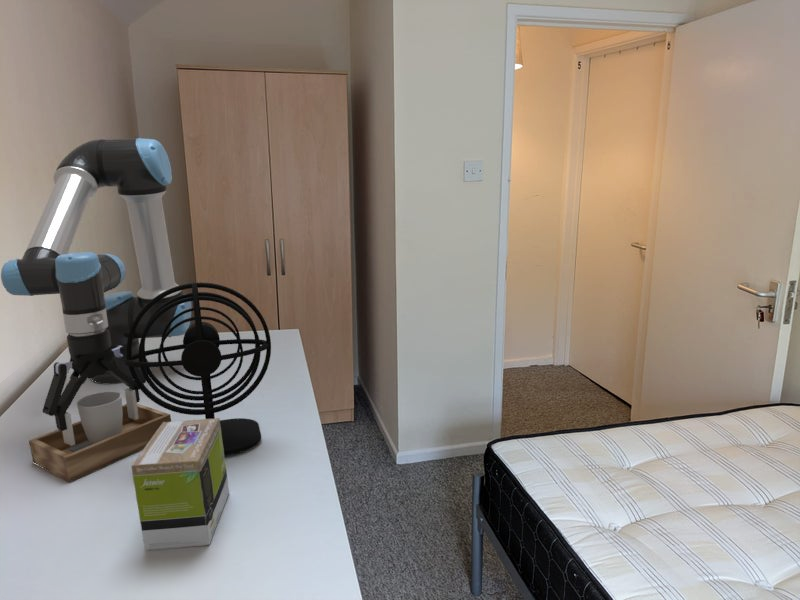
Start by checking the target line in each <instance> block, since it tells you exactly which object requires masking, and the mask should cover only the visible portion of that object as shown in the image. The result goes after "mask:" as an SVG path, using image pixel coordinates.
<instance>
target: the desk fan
mask: <svg viewBox="0 0 800 600" xmlns="http://www.w3.org/2000/svg"><path fill="white" fill-rule="evenodd" d="M199 288H200V289H202V288H204V289H205V288H206V289H214V290H219V291H222V292H225V293H228V294H230V295H232V296H234V297H236V298H238V299H239V300H241V301H242V302H244V303H245V304H246V305H247V306H248V307H249V308H250V309H251V310H252V311H253V312H254V313H255V315H256V316H257V318H258V319H259V321H260V323H261V325H262V328H263V330H264V335H265V339H260V337H259V333H258V330H257V328H256V326H255V323H254V321H253V320H252V318H251V316H250V315H249V313H248V312H247V311H246V310H245V309H244V308H243V306H241V305H240V304H239V303H237V302H236V301H234V300H233V299H231V298H229V297H227V296H225V295H221V294H219V293H213V292H207V291H205V292H204V291H202V292H201V291H199ZM188 289H191V290H192V291H191V292H189V293H183V295H181V296H178V297H176V298H173V299H171V300H170V301H168V302H166V303H165V304H163V305H162V306H161V307H160V308H159V309H158V310H157V311H156V312H155V313H154V314H153V315H152V316H151V318H150V319H149V321H148V323H147V324H146V327H145V329H144V332H143V334H142V337H141V338H140V339H139V353H136V354H133V355H132V341H133V336H134V332H135V329H136V327H137V325H138V323H139V321H140V320H141V318H142V317H143V315H144V314H145V313H146V312H147V311H148V310H149V308H151V307H152V306H153V305H154V304H155V303H156V302H158V301H159V300H161V299H162V298H164V297H166V296H168V295H170V294H172V293H174V292H177V291H180V290H182V291H183V290H188ZM189 301H191V302H192V304H193V307H192V308H191V309H187V310H185V311H183V312H181V313H179V314H177V315H176V316H175V317H174V318H173V319H172V320H171V321H170V322H169V323H168V324H167V326H166V328H165V329H164V332H163V335H162V337H161V340H160V341H161V342H160V344H159V347H157V348H154V349H153V348H152V349H149V350H148V349H147V350H146V347H145V346H146V339H147V338H146V335H147V333H148V331H149V329H150V327H151V326H152V324H153V323H154V322H155V321H156V319H157V318H158V317H159V316H161V315H162V314H163V313H164V312H166V311H167V310H169V309H170V308H172V307H174V306H176V305H179V304H182V303H185V302H189ZM200 301H208V302H215V303H218V304H222V305H224V306H227V307H228V308H231V309H232V310H234V311H236V312H237V314H239V315H241V317H242V318H243V319H244V320H245V321H246V322H247V324H248V325H249V326H250V328H251V330H252V333H253V336H254V338H241V335H240V331H239V329H238V327H237V324H235V322H234V320H232V318H230V316H228V315H227V314H226V313H225V312H224V311H223V312H222V311H221V310H219V309H215V308H213V307H207V306H201V305H200ZM190 311H191V312H193V314H194V316H191V318H188V319H185V320H183V321H181V322H179V323H177V324H176V325H174V326H173V327H172V328H171V329H170V330H169V331H168V332H167V333H166V331H167V329H168V328H169V326H170V325H171V324H172V322H173V321H174V320H175V319H177V318H178V317H179V316H181V315H183V314H185V313H187V312H190ZM201 311H210V312H214V313H216V314H218V315H221V316H222V317H224V318H226V320H227V321H228V322H229V323H230V324H231V325H232V326H233V327H231V326H230V324H228V323H226V322H224V321H223V320H221V319H218V318H215V317H211V316H206V315H205V316H202V314H201V313H202V312H201ZM202 320H206V321H207V320H208V321H212V322H215V323H219V324H221V325H223V326H224V327H225V328H227V329H228V330H229V331H230V332H231V333H232V334H233V336H235V338H236V339H233V338H232V339H220V334H219V332H218V329H217V328H216V327H215V326H214V325H213V324H211V323H209V322H206V321H202ZM189 321H190V322H191V321H194V322H193V323H192V324H190V325H189V328H188V329H187V330H186V332H185V334H184V335H183V340H182V344H177V345H170V346H165V347H164V343H165V342H166V339H167V338H168V337H167V336H168V335H169V334H170V333H171V332H172V331H173V330H174V329H175V328H177V327H178V326H180V325H181V324H183V323H186V322H189ZM233 328H234V329H233ZM244 344H245V345H248V344H249V345H254V348H251V349H247V350H244V349H243V345H244ZM222 345H223V346H224V345H237V348H236V349H237V350H236V352H233V353H232V352H231V353H226V354H222V352H221V350H220V348H219V347H220V346H222ZM180 350H183V351H182V353H181V356H180V360H168V357H167V356H166V352H172V351H180ZM263 351H266V352H265V358H264V362H263V365H262V368H261V370H260V371H259V373H258V375H257V377H256V378H255V380H254V382H253V383H252V384H251V382H252V380H253V378H254V377H255V375H256V373H257V372H258V371H257V370H258V368H259V365H260V361H261V352H263ZM156 354H157V361H148V359H147V356H152V355H156ZM249 355H253V358H252V359H251V363H250V365H249V366H248V369H246V370H247V371H246V372H245V373H244V374H243V375H242V377H241V378H240V379H239V380H238V381H236V382H235V383H234V384H232V385H231V386H229V387H228V388H226V386H228V385H229V384H230V383H232V382H233V381H234V380H235V378H236V377H237V375H239V372H240V370H241V368H242V364H243V361H244V357H245V356H246V357H247V356H249ZM271 356H272V342H271V336H270V330H269V328H268V326H267V322H266V320H265V318H264V316H263V314H262V313H261V312H260V311H259V309H258V307H257V306H256V305H255V304H254V303H253V302H252V301H251V300H249V299H248V298H247V297H246V296H245V295H243V294H241V293H240V292H238V291H237V290H234V289H232V288H231V287H227V286H225V285H222V284H221V285H220V284H217V283H211V282H192V283H191V282H190V283H185V284H179V286H176V287H173V288H171V289H169V290H166V291H164V292H163V293H161V294H159V295H158V296H156V297H155V298H153V299H152V300H151V301H150V302H149V303H148V304H147V305H146V306H145V307H144V308H143V309H142V310H141V311H140V313H139V314H138V316H137V317H136V319H135V321H134V323H133V325H132V327H131V330H130V333H129V336H128V340H127V357H126V358H125V365H127V366H129V370H130V373H131V375H132V377H133V380H134V381H135V383H136V384H137V386H138V387H139V388H140V389H139V391H141V392H142V393H143V394H144V395H145V397H147V398H148V399H149V400H150V401H152V402H153V403H155V404H156V405H158V406H159V407H161V408H164V409H165V410H169V411H171V412H174V413H178V414H180V415H181V414H182V415H188V416H189V415H191V416H204V415H205V416H204V417H205V418H204V419H214V418H216V416H215V413H220V412H224V411H225V410H228V409H230V408H232V407H234V406H236V405H238V404H239V403H241V402H243V401H244V400H245V399H247V398H248V397H249V395H251V394H252V393H253V392H254V391H255V390H256V388H258V386H259V385H260V383H261V382H262V380H263V379H264V377H265V375H266V373H267V370H268V367H269V364H270V360H271ZM162 357H163V360H164V361H162ZM138 358H139V362H137V361H133V360H135V359H138ZM238 358H240V359H239V363H238V365H237V368H236V370H235V371H234V373H233V375H231V377H230V378H229V379H228V380H226V381H225V382H224V383H223V384H221V385H219V386H217V387H215V388H212V381H211V380H212V379H215V378H218V377H219V376H222V375H223V374H225V373H226V372H228V371H229V370H230V369H231V367H233V365H234V364H235V362H236V361H237V359H238ZM146 359H147V360H146ZM231 359H232V360H231ZM225 360H231V362H230V363H229V364H228V365H227V366H226V367H225V368H224V369H222V370H221V371H220V372H217V373H215V372H216V371H217V370H218V369H219V368H220V366H221V363H222V361H225ZM147 361H148V362H147ZM178 366H182V367H183V369H184V370H185V371H186V372H187V373H188V375H187V374H185V373H183V372H181V371H179V370H178V369H177V368H175V367H178ZM135 367H140V368H141V371H142V373H143V376H144V378H145V379H146V383H147V384H148V385H149V387H150V388H151V389H152V390H153V391H154V392H155V393H156V394H158V396H160V397H161V398H159V397H158V396H157V395H155V394H154V393H153V392H151V391H150V390H149V389H148V387H147V386H146V385H145V383H144V384H143V383H142V381H141V380H140V378H139V376H138V374H137V372H136V370H135ZM164 367H165V368H167V367H169V369H171V371H173V372H174V373H175V374H177V375H178V376H180V377H183V378H184V379H187V380H192V381H201V389H202V390H192V389H188V388H184V387H183V386H180V385H178V384H177V383H175V382H174V381H173V380H172V379H171V378H170V377H169V375H167V373H166V371H165V370H164V369H165V368H164ZM152 368H159V370H160V372H161V374H162V376H163V377H164V379H165V380H166V381H167V382H168V383H169V384H170V385H171V386H172V387H174V388H175V389H177V390H179V391H181V392H184V393H180V392H179V391H175V390H173V389H171V388H169V387H168V386H167V385H165V384H163V382H161V381H160V380H159V379H158V378H157V376H155V374H154V373H153V371H152ZM213 373H215V374H213ZM189 374H190V375H189ZM212 374H213V375H212ZM191 375H192V376H191ZM249 384H251V385H250V386H249ZM248 386H249V388H247V387H248ZM223 388H225V389H224V390H222V389H223ZM246 388H247V389H246ZM245 389H246V390H245ZM220 390H222V391H220ZM243 390H245V391H244V392H243ZM218 391H219V392H218ZM165 392H166V393H165ZM241 392H243V393H242V394H241ZM185 393H187V394H185ZM229 393H230V394H229ZM189 394H190V395H189ZM239 394H240V395H239ZM170 395H171V396H170ZM225 395H226V396H225ZM238 395H239V396H238ZM173 396H174V397H173ZM223 396H224V397H223ZM236 396H238V397H236ZM221 397H222V398H221ZM235 397H236V398H235ZM162 398H163V399H164V400H166V401H164V400H163V399H162ZM177 398H179V399H177ZM218 398H219V399H218ZM233 398H235V399H233ZM180 399H183V400H180ZM215 399H216V400H215ZM184 400H186V401H184ZM188 400H189V401H196V402H189V401H188ZM167 401H168V402H167ZM197 401H198V402H197ZM200 401H203V402H200ZM228 401H229V402H228ZM172 403H173V404H172ZM224 403H225V404H224ZM174 404H175V405H174ZM220 404H221V405H220ZM176 405H177V406H176ZM185 407H187V408H185ZM220 426H221V434H222V441H223V448H224V456H230V455H234V454H235V455H236V454H239V453H242V452H246V451H248V450H250V449H252V448H254V447H256V446H257V445H259V444H260V442H261V441H262V433H261V429H260V428H261V427H260V424H259V422H257V421H256V420H254V419H250V418H228V419H221V420H220Z"/></svg>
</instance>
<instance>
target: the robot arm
mask: <svg viewBox="0 0 800 600" xmlns="http://www.w3.org/2000/svg"><path fill="white" fill-rule="evenodd" d="M172 172H173V171H172V167H171V163H170V159H169V156H168V153H167V151H166V149H165V148H164V146H163V144H162V143H161V142H160V141H158V140H156V139H152V138H141V137H138V138H136V137H135V138H117V139H116V138H115V139H113V138H112V139H99V138H98V139H93V140H89V141H86V142H84V143H82V144H80V145H78V146H77V147H75V148H74V149H73V150H71V151H70V152H69V153H68V154H67V155H66V156H65V157H64V158H63V159H62V160H61V161H60V163H59V164H58V166H57V167H56V170H55V172H54V174H53V182H54V186H53V189H52V191H51V193H50V195H49V197H48V200H47V202H46V204H45V206H44V208H43V211H42V214H41V216H40V218H39V220H38V223H37V224H36V227H35V230H34V231H33V234H32V236H31V239H30V241H29V243H28V246H27V247H26V249H25V252H24V254H23V256H22V258H21V259H19V258H16V259H10V260H7V261H6V262H4V264H3V265H2V267H1V271H0V279H1V284H2V285H3V287H4V289H5V291H6V292H7V293H9V294H10V295H12V296H29V297H33V296H41V295H42V296H43V295H46V296H47V295H58V294H59V296H60V302H61V308H62V310H61V311H62V316H63V322H64V329H65V330H64V331H65V333H67V336H66V341H67V347H68V353H69V356H70V359H69V361H67V362H62V363H61V362H55V363H54V364H53V375H52V376H53V377H52V380H51V382H50V386H49V389H48V391H47V395H46V397H45V400H44V404H43V406H42V413H43V414H45V415H48V416H50V417H53V416H54V419H55V425H56V429H57V430H61V431H62V432H63V438H64V443H66V444H68V445H71V446H73V445H75V439H74V433H73V427H72V424H73V422H72V417H71V413H70V412H68V410H69V407H70V405H71V404H72V403H73V400H74V399H75V398H76V397H75V396H76V395H77V394H78V392H79V390H80V388H81V386H82V385H83V384H85V383H86V381H87V379H90V380H91V379H92V380H93V381H96V382H100V383H99V384H102V383H109V384H118V382H119V383H122V384H124V385H125V386H127V388H124V396H125V402H126V403H125V404H127V411H128V417H129V418H132V419H134V420H137V419H139V415H138V408H137V404H139V403H140V401H141V400H140V393H139V391H140V388H139V387H138V386H137V384H136V383H135V381H134V379H133V377H132V375H131V373H130V370H129V366H127V365H125V358H126V357H127V340H128V336H129V333H130V330H131V327H132V325H133V323H134V321H135V319H136V317H137V316H138V314H139V313H140V311H141V310H142V309H143V308H144V307H145V306H146V305H147V304H148V303H149V302H150V301H151V300H152V299H153V298H155V297H156V296H158V295H159V294H161V293H163V292H164V291H166V290H169V289H171V288H173V287H176V286H180V284H177V282H176V281H175V274H174V268H173V260H172V255H171V250H170V249H171V248H170V243H169V236H168V230H167V224H166V217H165V211H164V205H163V199H162V198H163V196H165V193H167V186H168V185H171V183H172V180H173V175H172ZM105 187H109V188H110V187H116V188H117V194H118V196H119V197H121V198H122V199H123V200H125V203H126V207H127V213H128V218H129V223H130V229H131V234H132V240H133V245H134V251H135V257H136V262H137V267H138V268H137V269H138V273H139V279H140V283H141V288H140V289H139V290H138V291H137V293H136V296H134V293H133V292H132V291H120V292H119V291H118V292H113V293H109V294H105V293H106V292H108V291H111V290H114V289H116V288H117V287H118V286H120V284H121V283H122V282H123V281H124V280H125V278H126V265H125V264H124V262H123V261H122V260H121V258H119V257H117V255H114V254H110V253H102V254H99V253H98V254H97V253H95V252H92V251H81V252H79V251H78V252H70V249H71V246H72V244H73V242H74V239H75V236H76V234H77V231H78V228H79V226H80V223H81V220H82V218H83V215H84V213H85V210H86V207H87V204H88V201H89V199H90V198H91V197H93V196H95V195H96V193H97V191H98V189H100V188H105ZM69 252H70V253H69ZM181 295H184V293H183V290H180V291H177V292H174V293H172V294H170V295H168V296H166V297H164V298H162V299H161V300H159V301H158V302H156V303H155V304H154V305H153V306H152V307H151V308H149V310H148V311H147V312H146V313H145V314H144V315H143V317H142V318H141V320H140V321H139V323H138V325H137V327H136V329H135V332H134V336H133V341H132V355H133V354H136V353H139V345H140V339H141V337H142V334H143V332H144V329H145V327H146V324H147V323H148V321H149V319H150V318H151V316H152V315H153V314H154V313H155V312H156V311H157V310H158V309H159V308H160V307H161V306H162V305H163V304H165V303H166V302H168V301H170V300H171V299H173V298H176V297H178V296H181ZM191 308H193V307H192V301H189V302H185V303H182V304H179V305H176V306H174V307H172V308H170V309H169V310H167V311H166V312H164V313H163V314H162V315H161V316H159V317H158V318H157V319H156V321H155V322H154V323H153V324H152V326H151V327H150V329H149V331H148V333H147V335H146V339H151V338H162V335H163V332H164V329H165V328H166V326H167V324H168V323H169V322H170V321H171V320H172V319H173V318H174V317H175V316H176V315H177V314H179V313H181V312H183V311H185V310H187V309H191ZM188 318H192V311H190V312H187V313H185V314H183V315H181V316H179V317H178V318H177V319H175V320H174V321H173V322H172V324H171V325H170V326H169V328H168V329H167V331H166V333H167V332H168V331H169V330H170V329H171V328H172V327H173V326H174V325H176V324H177V323H179V322H181V321H183V320H185V319H188ZM190 326H191V321H189V322H186V323H183V324H181V325H180V326H178V327H177V328H175V329H174V330H173V331H172V332H171V333H170V334H169V335H168V336H167V338H172V337H180V336H184V335H185V332H186V330H187V329H188V328H189V327H190ZM146 360H147V362H149V360H148V359H147V358H146ZM133 361H137V362H139V358H138V359H135V360H133ZM71 369H72V370H73V371H72V373H71V375H70V376H69V381H68V382H67V385H66V386H65V384H66V381H67V376H68V374H69V373H70V370H71ZM135 370H136V372H137V374H138V376H139V378H140V380H141V381H142V383H143V384H144V385H145V384H146V383H147V381H146V379H145V378H144V376H143V373H142V371H141V368H140V367H135ZM92 380H91V381H92ZM93 381H92V382H93ZM96 382H95V383H96ZM64 386H65V388H64Z"/></svg>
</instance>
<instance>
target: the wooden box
mask: <svg viewBox="0 0 800 600" xmlns="http://www.w3.org/2000/svg"><path fill="white" fill-rule="evenodd" d="M137 408H138V415H139V419H137V420H134V419H132V418H129V417H128V411H127V404H126V403H125V404H122V411H123V419H122V433H119V434H117V435H114V436H112V437H110V438H107V439H105V440H102V441H100V442H97V443H95V444H93V445H91V443H90V442H89V440H88V438H87V436H86V434H85V431H84V428H83V426H82V423H81V420H80V421H77V422H74V423H72V427H73V433H74V439H75V445H73V446H71V445H68V444H66V443H64V438H63V432H62V431H61V430H58V429H56V430H53V431H50V432H48V433H45V434H42V435H39V436H38V437H34V438H32V439H29V440H28V442H29V443H28V444H29V448H30V453H31V459H32V463H33V462H34V463H36V464H38V465H39V466H41V467H43V468H44V469H43V468H42V469H43V470H45V469H46V470H45V471H47V470H48V471H47V472H49V471H50V472H49V473H51V474H53V475H55V476H57V477H58V478H61V479H63V480H65V481H67V482H68V483H73V482H76V480H77V481H78V480H79V479H81V478H83V477H86V476H87V475H90V474H92V473H95V472H97V471H99V470H101V469H103V468H105V467H107V466H110V465H112V464H114V463H116V462H119V461H121V460H123V459H125V458H128V457H131V456H132V455H135V454H136V453H138V452H142V451H143V449H144V448H145V446H146V445H147V444H148V442H149V441H150V439H151V438H152V437H153V435H154V434H155V432H156V431H157V429H158V428H159V427H160V425H161V424H162V423H163V422H172V418H171V414H170V413H167V412H164V411H162V410H158V409H156V408H152V407H150V406H145V405H143V404H140V403H137ZM39 466H38V467H39ZM41 467H40V468H41Z"/></svg>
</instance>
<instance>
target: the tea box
mask: <svg viewBox="0 0 800 600" xmlns="http://www.w3.org/2000/svg"><path fill="white" fill-rule="evenodd" d="M225 456H226V455H225ZM225 456H224V448H223V441H222V434H221V426H220V417H215V418H214V419H206V418H202V419H194V420H193V419H192V420H191V419H190V420H179V421H178V420H177V421H174V420H173V421H171V422H163V423H162V424H161V425H160V427H159V428H158V429H157V431H156V432H155V434H154V435H153V437H152V438H151V439H150V441H149V442H148V444H147V445H146V446H145V448H144V449H143V450H141V451H140V453H139V455H138V456H137V457H136V459H135V460H134V462H133V463H132V464H131V472H132V479H133V485H134V491H135V498H136V503H137V509H138V515H139V516H138V517H139V522H140V528H141V534H142V541H143V545H144V549H145V550H146V551H155V550H156V551H158V550H166V549H167V550H169V549H179V548H180V549H182V548H193V547H194V548H195V547H205V546H210V544H211V542H212V540H213V539H212V538H213V536H214V533H215V530H216V528H217V525H218V523H219V520H220V518H221V516H222V512H223V510H224V508H225V505H226V501H227V499H228V496H229V493H230V489H229V481H228V480H229V479H228V474H227V464H226V457H225Z"/></svg>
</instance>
